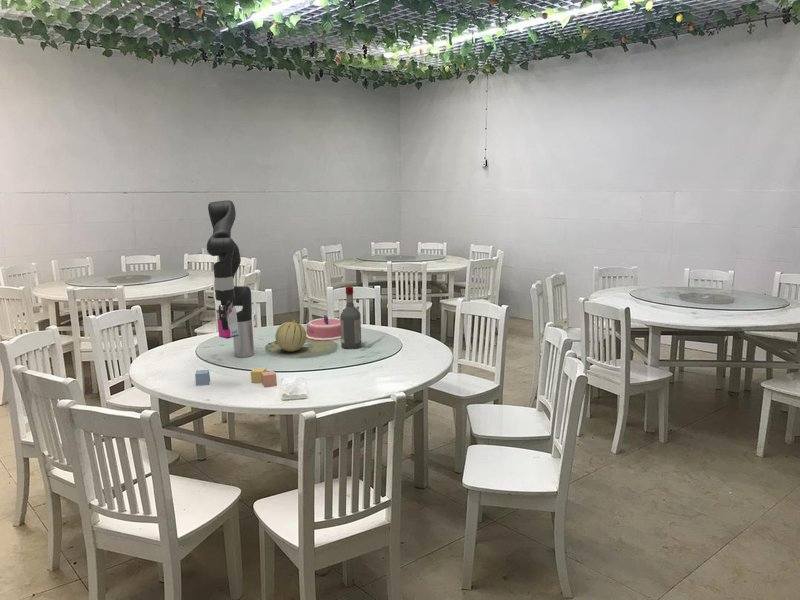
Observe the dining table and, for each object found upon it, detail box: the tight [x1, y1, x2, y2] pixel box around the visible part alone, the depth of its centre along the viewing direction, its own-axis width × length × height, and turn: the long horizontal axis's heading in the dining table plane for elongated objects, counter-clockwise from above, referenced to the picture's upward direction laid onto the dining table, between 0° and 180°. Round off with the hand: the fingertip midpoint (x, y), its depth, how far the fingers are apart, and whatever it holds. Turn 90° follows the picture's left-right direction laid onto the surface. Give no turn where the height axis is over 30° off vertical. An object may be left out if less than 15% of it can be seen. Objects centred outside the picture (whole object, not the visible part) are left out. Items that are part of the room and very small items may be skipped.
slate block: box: [194, 369, 211, 387], centre depth 249 cm, size 5×5×5 cm
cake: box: [306, 315, 341, 342], centre depth 322 cm, size 25×25×11 cm
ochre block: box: [250, 367, 267, 384], centre depth 250 cm, size 5×5×5 cm
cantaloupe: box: [274, 319, 307, 353], centre depth 292 cm, size 15×15×15 cm
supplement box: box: [216, 307, 239, 340], centre depth 244 cm, size 6×6×12 cm
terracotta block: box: [261, 370, 278, 388], centre depth 245 cm, size 5×5×5 cm
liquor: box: [339, 286, 362, 350], centre depth 296 cm, size 9×9×30 cm
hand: (227, 327), depth 244 cm, fingers closed on supplement box, 8 cm apart
